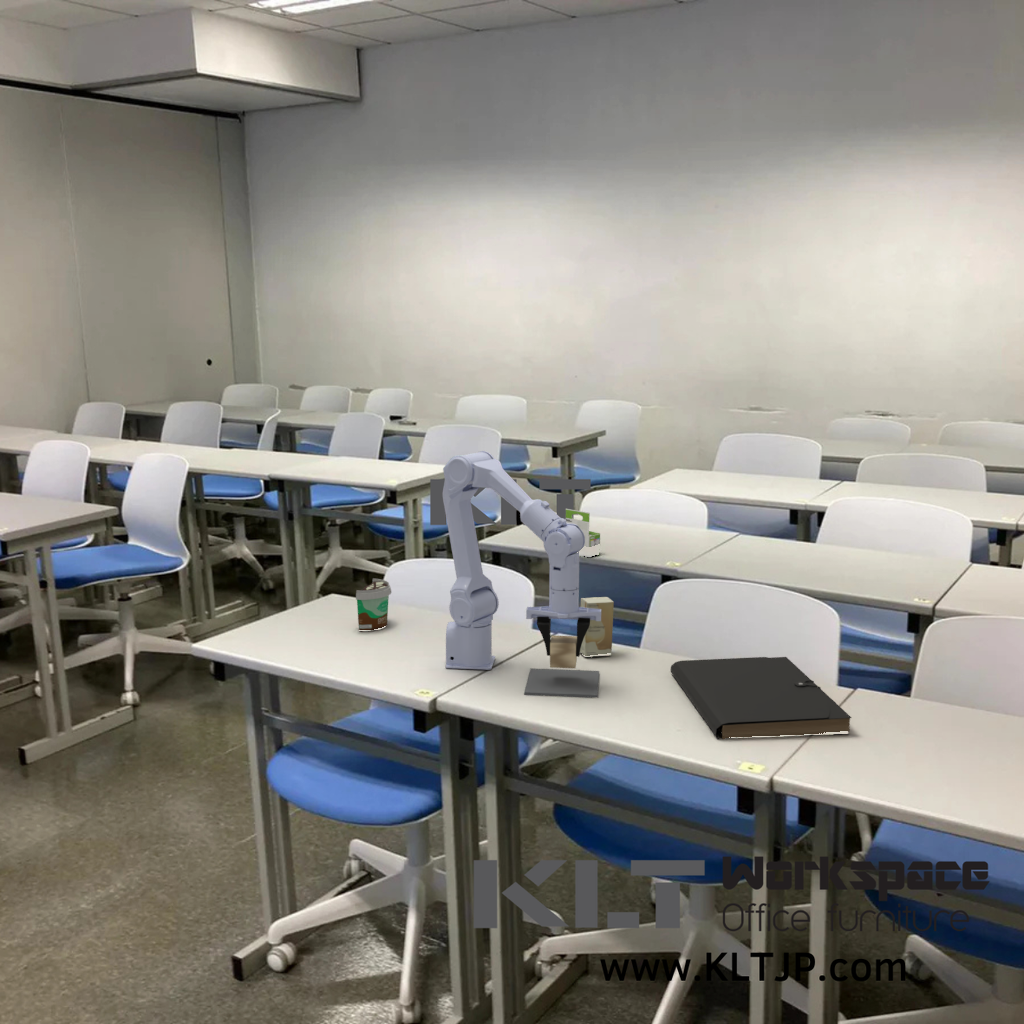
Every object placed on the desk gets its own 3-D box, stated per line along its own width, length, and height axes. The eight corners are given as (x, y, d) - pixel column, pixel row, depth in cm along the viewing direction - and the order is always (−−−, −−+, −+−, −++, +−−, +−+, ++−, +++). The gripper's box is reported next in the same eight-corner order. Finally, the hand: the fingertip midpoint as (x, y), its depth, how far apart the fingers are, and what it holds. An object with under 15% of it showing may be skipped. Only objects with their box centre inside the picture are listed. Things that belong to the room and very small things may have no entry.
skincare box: (584, 658, 221) (585, 603, 218) (578, 652, 225) (579, 597, 222) (613, 656, 222) (614, 601, 220) (606, 650, 226) (607, 595, 224)
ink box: (600, 556, 317) (601, 510, 314) (588, 558, 313) (589, 513, 311) (575, 550, 324) (576, 506, 322) (564, 553, 321) (564, 508, 318)
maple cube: (549, 667, 203) (550, 642, 202) (551, 659, 208) (551, 635, 207) (575, 668, 203) (575, 643, 202) (576, 660, 208) (576, 636, 207)
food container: (382, 635, 237) (381, 592, 235) (356, 633, 238) (355, 590, 236) (398, 620, 249) (398, 579, 247) (374, 618, 250) (373, 577, 248)
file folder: (852, 715, 180) (715, 721, 178) (851, 737, 181) (715, 744, 179) (787, 654, 212) (670, 659, 210) (786, 674, 213) (670, 679, 211)
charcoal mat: (524, 694, 199) (524, 692, 199) (530, 670, 213) (530, 668, 213) (597, 697, 198) (597, 695, 198) (599, 673, 212) (599, 670, 212)
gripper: (524, 591, 199) (524, 659, 201) (601, 593, 197) (600, 662, 200) (528, 582, 206) (527, 648, 208) (601, 584, 204) (600, 650, 207)
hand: (563, 654), depth 204 cm, fingers closed on maple cube, 5 cm apart
